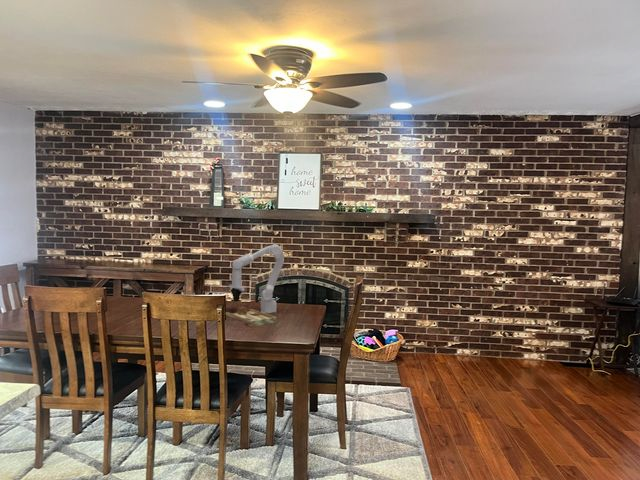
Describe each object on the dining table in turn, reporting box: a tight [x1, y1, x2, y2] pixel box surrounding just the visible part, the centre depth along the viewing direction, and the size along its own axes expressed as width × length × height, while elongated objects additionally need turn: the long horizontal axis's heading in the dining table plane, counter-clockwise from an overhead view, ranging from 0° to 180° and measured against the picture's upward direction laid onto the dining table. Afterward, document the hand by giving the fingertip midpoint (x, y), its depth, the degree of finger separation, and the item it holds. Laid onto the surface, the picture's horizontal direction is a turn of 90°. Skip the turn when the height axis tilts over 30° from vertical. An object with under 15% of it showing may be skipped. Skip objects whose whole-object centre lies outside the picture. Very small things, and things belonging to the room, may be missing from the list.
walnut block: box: [237, 306, 248, 315], centre depth 268 cm, size 4×4×4 cm
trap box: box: [225, 308, 278, 328], centre depth 261 cm, size 18×27×3 cm, turn 42°
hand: (236, 300), depth 273 cm, fingers closed
